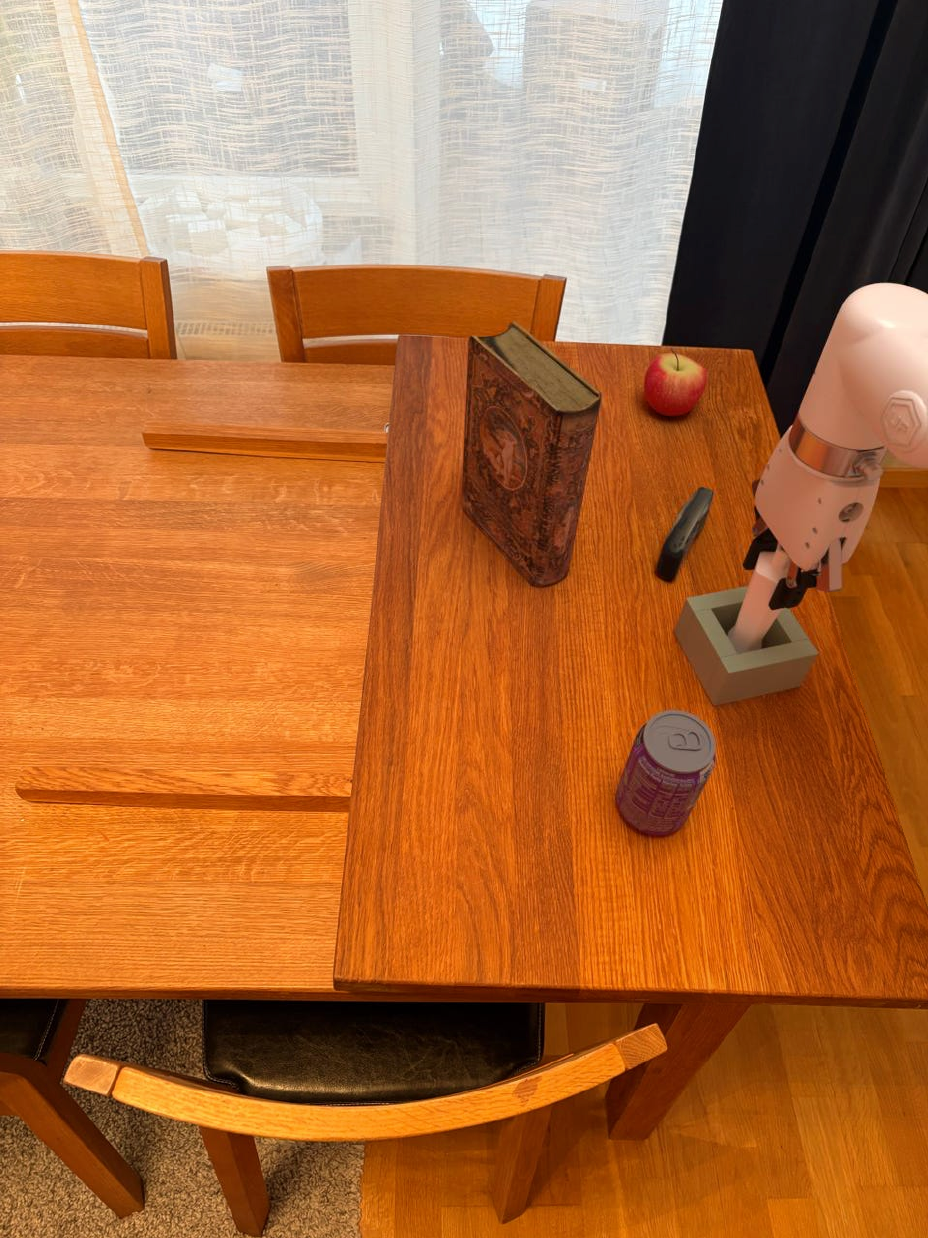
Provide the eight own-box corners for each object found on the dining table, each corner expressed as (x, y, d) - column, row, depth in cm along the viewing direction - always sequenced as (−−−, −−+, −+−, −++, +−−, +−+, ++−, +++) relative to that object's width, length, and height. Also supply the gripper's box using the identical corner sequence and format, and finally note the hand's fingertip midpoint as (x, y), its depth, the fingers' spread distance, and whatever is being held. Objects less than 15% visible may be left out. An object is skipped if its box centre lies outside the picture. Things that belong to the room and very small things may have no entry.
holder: (799, 687, 92) (819, 653, 87) (713, 706, 90) (728, 673, 85) (755, 615, 98) (771, 581, 93) (673, 632, 96) (685, 597, 92)
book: (575, 574, 101) (610, 399, 82) (538, 592, 99) (564, 418, 80) (496, 493, 110) (511, 317, 90) (461, 508, 108) (468, 332, 88)
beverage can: (679, 770, 85) (710, 703, 76) (695, 837, 81) (730, 775, 71) (608, 773, 85) (631, 706, 75) (621, 840, 80) (647, 778, 71)
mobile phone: (684, 558, 97) (723, 478, 105) (659, 549, 98) (699, 470, 106) (674, 586, 101) (713, 507, 109) (650, 577, 102) (690, 499, 110)
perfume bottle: (724, 660, 91) (767, 564, 79) (718, 627, 93) (760, 530, 82) (767, 663, 90) (817, 568, 79) (760, 630, 93) (808, 533, 82)
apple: (633, 391, 124) (646, 330, 117) (690, 390, 125) (707, 329, 117) (643, 427, 119) (658, 365, 111) (703, 426, 120) (722, 365, 112)
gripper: (938, 500, 66) (849, 644, 80) (824, 373, 76) (763, 520, 90) (853, 516, 65) (777, 660, 79) (749, 384, 75) (698, 532, 89)
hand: (770, 584), depth 84 cm, fingers closed on perfume bottle, 4 cm apart
